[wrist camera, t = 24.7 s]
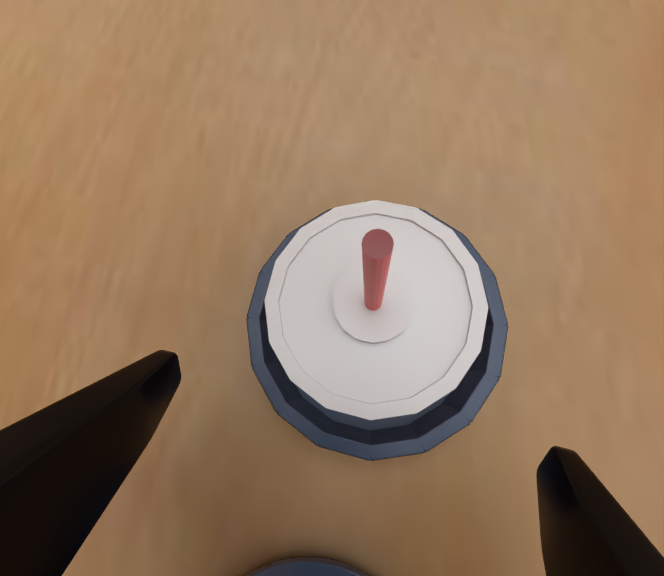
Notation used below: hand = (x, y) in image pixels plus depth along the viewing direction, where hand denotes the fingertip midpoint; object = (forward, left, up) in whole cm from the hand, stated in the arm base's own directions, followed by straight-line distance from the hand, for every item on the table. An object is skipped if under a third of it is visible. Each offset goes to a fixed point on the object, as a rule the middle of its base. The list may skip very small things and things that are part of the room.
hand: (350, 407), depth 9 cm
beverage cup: (+1, -3, -10) cm, 10 cm away
